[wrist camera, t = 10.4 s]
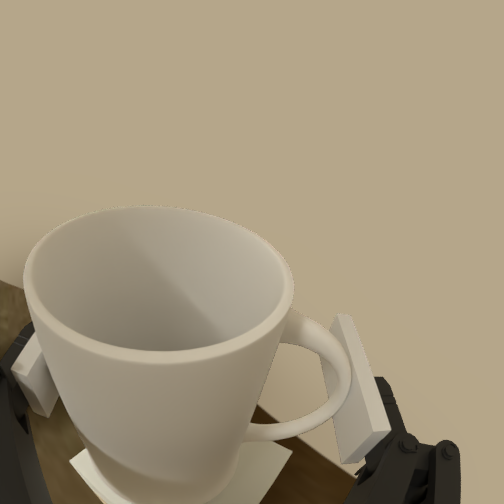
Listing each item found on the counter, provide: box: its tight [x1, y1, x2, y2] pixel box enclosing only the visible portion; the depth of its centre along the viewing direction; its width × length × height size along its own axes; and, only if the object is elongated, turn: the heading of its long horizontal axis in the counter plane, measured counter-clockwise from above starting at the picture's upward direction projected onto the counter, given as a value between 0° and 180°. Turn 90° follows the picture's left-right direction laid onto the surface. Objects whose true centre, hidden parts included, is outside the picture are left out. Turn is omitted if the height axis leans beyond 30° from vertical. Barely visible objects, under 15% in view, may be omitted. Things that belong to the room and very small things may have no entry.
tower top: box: [70, 441, 292, 504], centre depth 16 cm, size 10×10×6 cm
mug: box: [23, 205, 351, 504], centre depth 11 cm, size 12×8×12 cm
